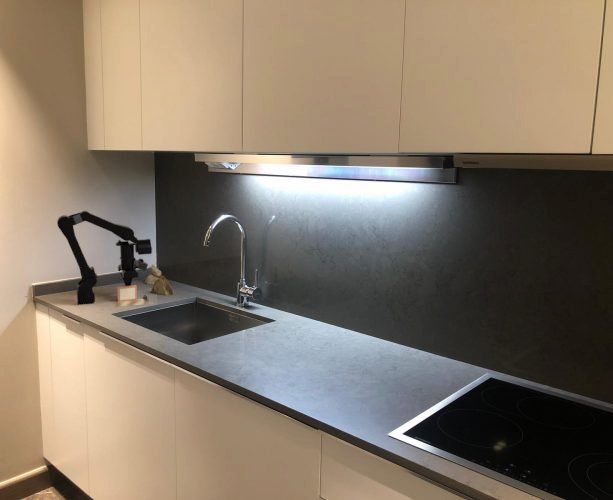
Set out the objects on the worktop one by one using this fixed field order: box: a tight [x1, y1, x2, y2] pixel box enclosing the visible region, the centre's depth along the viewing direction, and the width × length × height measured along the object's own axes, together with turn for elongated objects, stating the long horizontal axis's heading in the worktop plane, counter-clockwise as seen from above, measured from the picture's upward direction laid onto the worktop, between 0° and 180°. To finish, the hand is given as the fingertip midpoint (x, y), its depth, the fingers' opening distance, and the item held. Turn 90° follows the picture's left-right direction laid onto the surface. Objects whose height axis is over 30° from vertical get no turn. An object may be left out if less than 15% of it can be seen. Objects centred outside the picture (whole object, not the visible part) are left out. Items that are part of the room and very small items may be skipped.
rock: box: [151, 275, 175, 296], centre depth 258 cm, size 11×9×10 cm
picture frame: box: [116, 284, 138, 302], centre depth 242 cm, size 8×2×7 cm, turn 115°
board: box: [111, 297, 153, 308], centre depth 241 cm, size 16×10×1 cm, turn 115°
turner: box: [143, 294, 153, 305], centre depth 244 cm, size 3×11×1 cm, turn 25°
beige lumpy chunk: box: [144, 264, 163, 285], centre depth 279 cm, size 6×8×10 cm
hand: (128, 289), depth 246 cm, fingers closed
